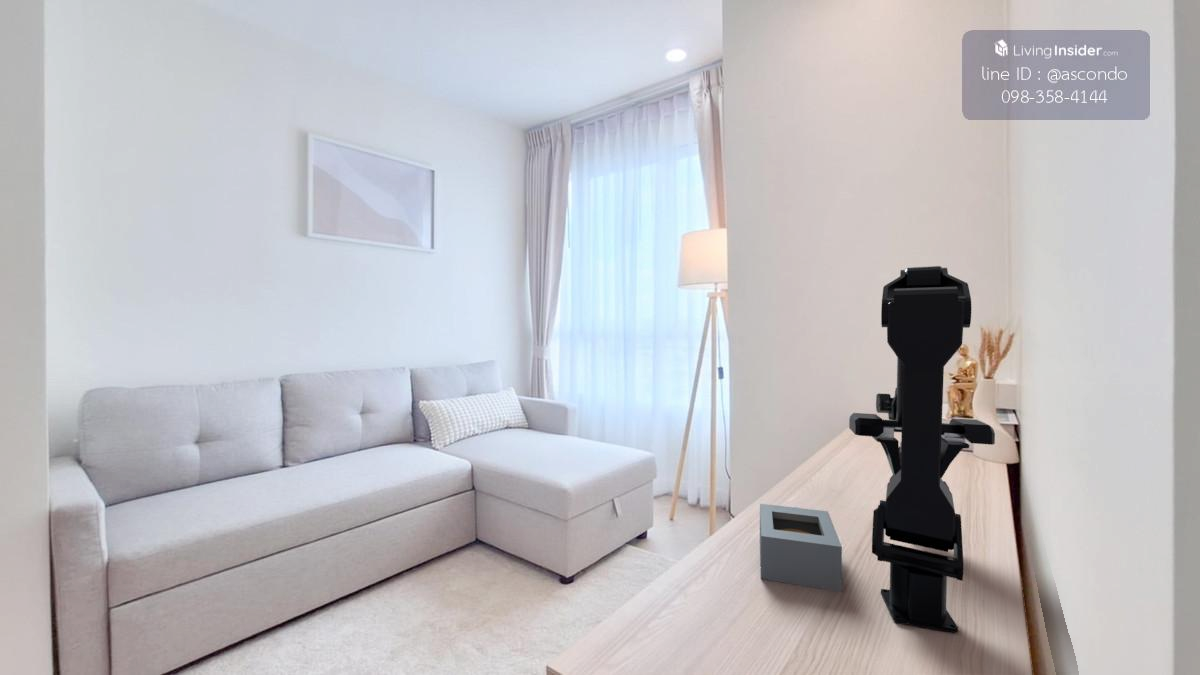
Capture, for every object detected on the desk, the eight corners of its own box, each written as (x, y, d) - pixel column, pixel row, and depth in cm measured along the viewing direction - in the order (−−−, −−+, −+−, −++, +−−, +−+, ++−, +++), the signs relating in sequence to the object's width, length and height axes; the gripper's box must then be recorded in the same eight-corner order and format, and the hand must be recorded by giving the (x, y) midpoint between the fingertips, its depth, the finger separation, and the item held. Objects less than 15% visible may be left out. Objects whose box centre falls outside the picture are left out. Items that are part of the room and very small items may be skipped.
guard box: (841, 591, 61) (841, 546, 61) (760, 578, 64) (761, 535, 64) (827, 549, 73) (827, 511, 72) (759, 539, 76) (760, 503, 76)
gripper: (965, 381, 80) (963, 471, 80) (844, 377, 86) (842, 461, 86) (997, 389, 69) (995, 493, 70) (856, 384, 75) (855, 480, 75)
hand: (915, 480), depth 75 cm, fingers closed on soda can, 5 cm apart
